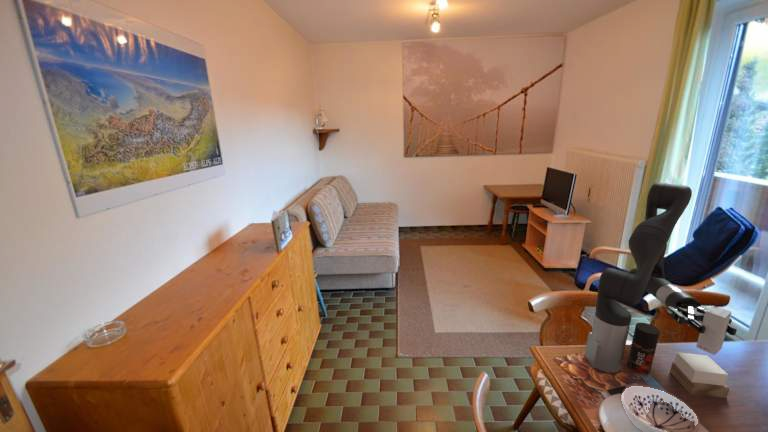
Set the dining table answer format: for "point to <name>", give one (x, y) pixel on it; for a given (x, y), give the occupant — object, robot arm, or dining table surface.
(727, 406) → the dining table surface
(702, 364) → the offwhite block
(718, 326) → the skincare box
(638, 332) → the deodorant
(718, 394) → the walnut block
